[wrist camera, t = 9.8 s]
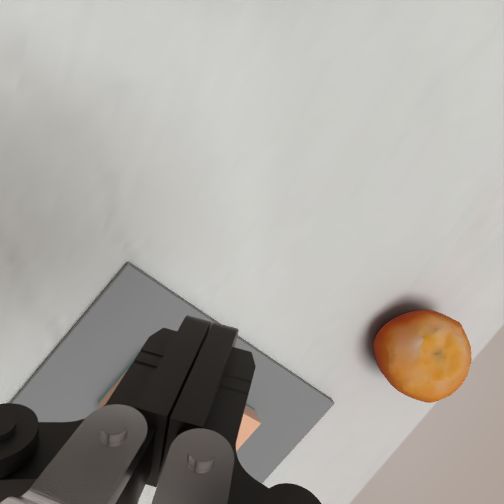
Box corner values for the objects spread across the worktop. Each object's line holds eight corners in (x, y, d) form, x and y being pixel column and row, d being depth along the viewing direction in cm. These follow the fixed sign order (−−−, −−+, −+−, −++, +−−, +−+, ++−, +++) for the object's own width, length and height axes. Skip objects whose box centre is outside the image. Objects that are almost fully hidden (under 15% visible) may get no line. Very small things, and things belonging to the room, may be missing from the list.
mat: (127, 261, 33) (128, 264, 32) (331, 399, 43) (334, 403, 43) (2, 411, 34) (1, 416, 33) (231, 510, 44) (232, 515, 44)
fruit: (382, 406, 43) (420, 424, 36) (348, 331, 44) (378, 332, 37) (451, 372, 45) (504, 382, 37) (417, 299, 46) (461, 293, 38)
